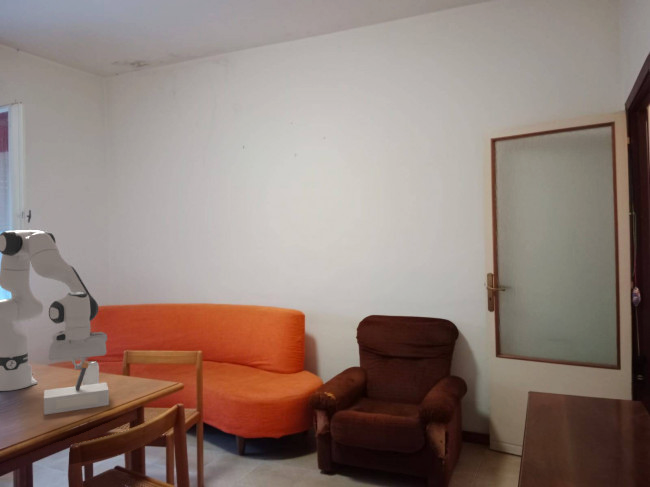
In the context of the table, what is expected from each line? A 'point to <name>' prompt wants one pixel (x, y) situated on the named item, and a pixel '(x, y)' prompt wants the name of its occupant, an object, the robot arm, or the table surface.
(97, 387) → the box
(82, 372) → the lever
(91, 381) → the can
